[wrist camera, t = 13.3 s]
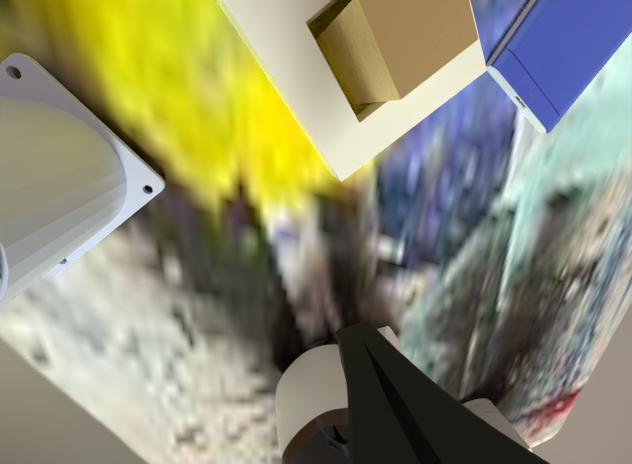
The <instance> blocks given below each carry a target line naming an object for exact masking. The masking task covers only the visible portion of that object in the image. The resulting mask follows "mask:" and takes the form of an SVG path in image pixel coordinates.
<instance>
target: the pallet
mask: <svg viewBox="0 0 632 464" xmlns="http://www.w3.org/2000/svg"><path fill="white" fill-rule="evenodd" d="M337 1H338V0H216V2H217V3H218V5H219V6H220V8H221V9H222V11H223V12H224V14H225V15H226V17H227V18H228V20H229V21H230V23H231V24H232V26H233V27H234V29H235V30H236V32H237V33H238V35H239V36H240V38H241V39H242V41H243V42H244V44H245V45H246V47H247V48H248V50H249V51H250V53H251V54H252V56H253V57H254V59H255V60H256V62H257V63H258V65H259V66H260V68H261V69H262V71H263V72H264V74H265V75H266V77H267V78H268V80H269V81H270V83H271V84H272V86H273V87H274V89H275V90H276V92H277V93H278V95H279V96H280V98H281V99H282V101H283V102H284V104H285V105H286V107H287V108H288V110H289V111H290V113H291V114H292V116H293V117H294V119H295V120H296V122H297V123H298V125H299V126H300V128H301V129H302V131H303V132H304V134H305V135H306V137H307V138H308V140H309V141H310V143H311V144H312V146H313V147H314V149H315V150H316V152H317V153H318V155H319V156H320V158H321V159H322V161H323V162H324V164H325V165H326V167H327V168H328V170H329V171H330V173H331V174H332V175H333V176H334V177H335V178H337V179H338V180H339V181H341V182H342V181H343V180H344V179H346V178H347V177H348V176H350V175H351V174H352V173H354V172H355V171H356V170H358V169H359V168H360V167H361V166H363V165H364V164H365V163H367V162H368V161H369V160H371V159H372V158H373V157H374V156H376V155H377V154H378V153H380V152H381V151H382V150H384V149H385V148H386V147H387V146H389V145H390V144H391V143H393V142H394V141H395V140H397V139H398V138H399V137H401V136H402V135H403V134H404V133H406V132H407V131H408V130H410V129H411V128H412V127H414V126H415V125H416V124H417V123H419V122H420V121H421V120H423V119H424V118H425V117H427V116H428V115H429V114H431V113H432V112H433V111H434V110H436V109H437V108H438V107H440V106H441V105H442V104H444V103H445V102H446V101H447V100H449V99H450V98H451V97H453V96H454V95H455V94H457V93H458V92H459V91H460V90H462V89H463V88H464V87H466V86H467V85H468V84H470V83H471V82H472V81H474V80H475V79H476V78H477V77H479V76H480V75H481V74H483V73H484V72H485V71H487V69H486V65H485V60H484V56H483V52H482V48H481V44H480V39H479V35H478V31H477V27H476V23H475V27H476V31H477V35H478V40H477V41H475V42H474V43H473V44H472V45H470V46H469V47H468V48H467V49H465V50H464V51H463V52H461V53H460V54H459V55H458V56H456V57H455V58H454V59H452V60H451V61H450V62H449V63H447V64H446V65H445V66H443V67H442V68H441V69H440V70H438V71H437V72H436V73H435V74H433V75H432V76H431V77H429V78H428V79H427V80H426V81H424V82H423V83H422V84H420V85H419V86H418V87H417V88H415V89H414V90H413V91H411V92H410V93H409V94H408V95H406V96H405V97H404V98H403V99H401V100H393V101H382V102H373V103H371V104H370V105H369V106H368V107H366V108H365V109H364V110H363V111H361V112H360V113H359V114H357V115H356V116H355V114H354V112H353V110H352V108H351V106H350V105H349V103H348V101H347V99H346V97H345V95H344V93H343V91H342V90H341V88H340V86H339V84H338V82H337V80H336V78H335V76H334V75H333V73H332V71H331V69H330V67H329V65H328V63H327V61H326V60H325V58H324V56H323V54H322V52H321V50H320V48H319V46H318V45H317V43H316V41H315V39H314V37H313V35H312V33H311V32H310V30H309V28H308V25H309V24H310V23H312V22H313V21H314V20H315V19H316V18H318V17H319V16H320V15H321V14H322V13H324V12H325V11H326V10H327V9H328V8H330V7H331V6H332V5H333V4H335V3H336V2H337ZM469 2H470V6H471V1H470V0H469ZM471 10H472V6H471ZM472 14H473V10H472ZM473 18H474V14H473ZM474 22H475V18H474Z"/></svg>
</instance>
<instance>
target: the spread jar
mask: <svg viewBox="0 0 632 464" xmlns="http://www.w3.org/2000/svg"><path fill="white" fill-rule="evenodd" d="M378 331H379V332H380V333H381V334H382V335H383V336H384V337H385V338H386V339H387V340H388V341H389V342H390V343H391V344H392V345H393V346H394V347H395V348H396V349H397V350H398V351H399V352H400V353H402V354H403V355H404V353H403V351H402V348H401V346H400V344H399V342H398V340H397V338H396V336H395V334H394V332H393V331H392V329H391V328H390V327H389V326H385V327H382V328H378ZM275 410H276V423H277V434H278V443H279V451H280V456H281V461H282V464H349V419H348V399H347V385H346V379H345V375H344V371H343V367H342V364H341V359H340V353H339V347H338V341H337V339H328V340H322V341H318V342H315V343H313V344H311V345H309V346H307V347H306V348H304V349H303V350H301V351H300V352H299V353H298V354H297V355H296V356H295V357H294V358H293V359H292V360H291V361H290V362H289V364H288V365H287V367H286V368H285V370H284V372H283V374H282V376H281V378H280V380H279V383H278V385H277V389H276V395H275Z"/></svg>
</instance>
